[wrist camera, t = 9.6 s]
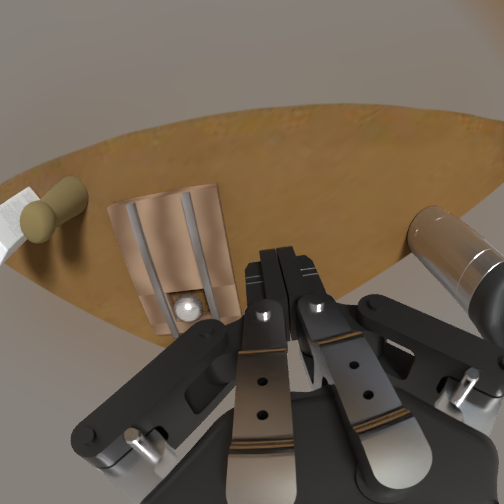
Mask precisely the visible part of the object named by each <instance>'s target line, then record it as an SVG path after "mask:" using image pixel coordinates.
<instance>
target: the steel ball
mask: <svg viewBox="0 0 504 504" xmlns="http://www.w3.org/2000/svg"><path fill="white" fill-rule="evenodd" d="M202 310H203V306H202V302H201V300H200V299H199V298H198V297H197V296H196V295H194V294H191V293H185V294H182V295H180V296H179V297H178V298H177V299H176V301H175V304H174V311H175V314H176V315H177V317H178V318H179V319H181V320H182V321H185V322H192V321H195V320H197V319H198V318H199V317H200V315H201V313H202Z"/></svg>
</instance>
